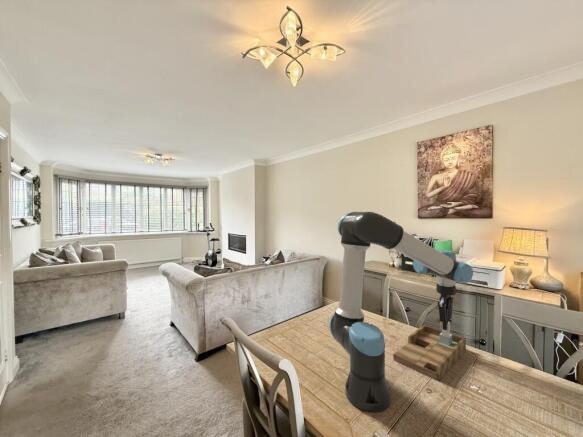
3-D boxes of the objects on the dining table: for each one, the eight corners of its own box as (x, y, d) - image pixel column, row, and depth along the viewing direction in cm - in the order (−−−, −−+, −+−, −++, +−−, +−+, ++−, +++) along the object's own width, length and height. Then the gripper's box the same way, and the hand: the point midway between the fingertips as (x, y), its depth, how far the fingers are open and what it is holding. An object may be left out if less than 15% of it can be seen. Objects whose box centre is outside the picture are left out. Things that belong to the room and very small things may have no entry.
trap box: (439, 381, 92) (439, 367, 91) (393, 360, 105) (393, 347, 105) (465, 349, 112) (465, 338, 112) (424, 335, 126) (424, 324, 126)
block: (449, 346, 111) (449, 337, 111) (439, 342, 114) (439, 334, 114) (452, 343, 114) (452, 334, 114) (442, 339, 117) (442, 331, 117)
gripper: (450, 289, 104) (450, 344, 104) (460, 283, 112) (459, 334, 113) (431, 285, 110) (431, 337, 110) (442, 280, 118) (441, 328, 118)
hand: (445, 335), depth 111 cm, fingers closed
